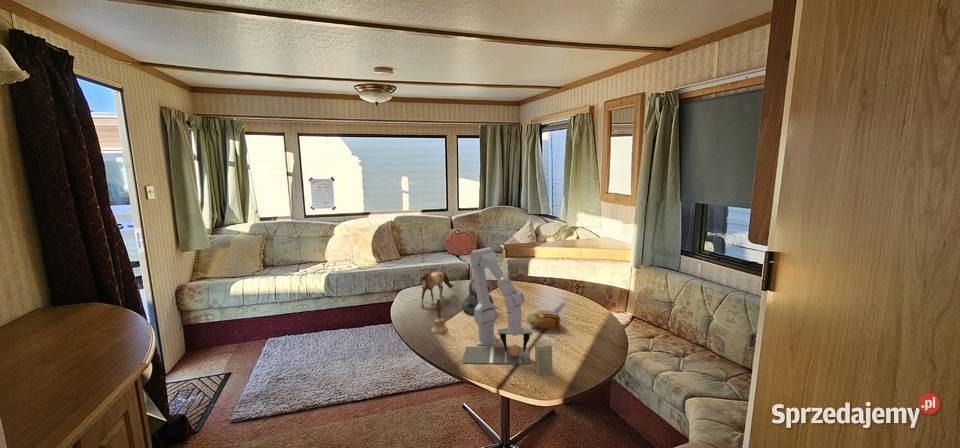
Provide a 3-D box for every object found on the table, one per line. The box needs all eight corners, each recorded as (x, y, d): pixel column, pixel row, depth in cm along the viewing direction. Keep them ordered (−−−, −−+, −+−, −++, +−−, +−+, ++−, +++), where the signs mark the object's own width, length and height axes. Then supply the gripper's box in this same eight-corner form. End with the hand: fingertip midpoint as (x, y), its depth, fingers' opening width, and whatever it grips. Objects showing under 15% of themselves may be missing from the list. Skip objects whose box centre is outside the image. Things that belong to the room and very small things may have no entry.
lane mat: (465, 347, 176) (465, 346, 176) (528, 347, 174) (528, 346, 174) (462, 363, 162) (462, 362, 162) (530, 364, 160) (530, 363, 160)
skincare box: (550, 369, 156) (550, 340, 154) (552, 375, 152) (552, 345, 150) (534, 369, 156) (534, 341, 154) (536, 375, 151) (536, 346, 149)
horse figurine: (425, 311, 219) (423, 276, 216) (414, 309, 223) (412, 274, 219) (454, 293, 246) (453, 262, 243) (444, 292, 250) (442, 261, 247)
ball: (509, 353, 169) (508, 342, 168) (520, 353, 168) (520, 342, 168) (509, 359, 164) (508, 347, 163) (521, 359, 163) (520, 348, 163)
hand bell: (429, 328, 197) (428, 298, 194) (445, 325, 200) (444, 295, 197) (433, 335, 189) (432, 303, 187) (450, 331, 192) (448, 301, 190)
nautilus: (574, 332, 189) (553, 343, 180) (543, 316, 206) (522, 325, 197) (575, 317, 187) (553, 327, 179) (543, 302, 204) (521, 311, 195)
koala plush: (493, 316, 210) (493, 281, 207) (460, 316, 211) (459, 281, 207) (493, 304, 227) (492, 271, 224) (462, 304, 228) (461, 272, 224)
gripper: (497, 324, 160) (497, 354, 162) (532, 324, 159) (532, 355, 161) (497, 317, 167) (498, 346, 169) (531, 317, 166) (531, 347, 168)
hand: (515, 350), depth 166 cm, fingers open, 7 cm apart
